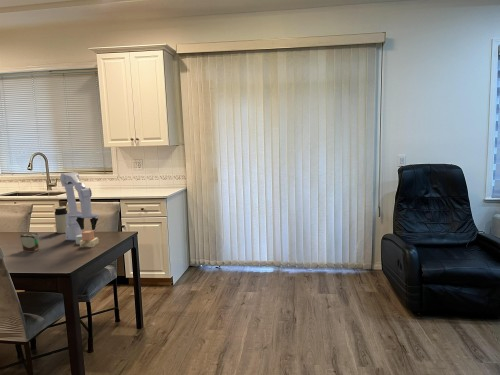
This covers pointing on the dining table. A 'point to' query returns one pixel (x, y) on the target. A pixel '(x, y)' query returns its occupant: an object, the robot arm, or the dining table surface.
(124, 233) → the dining table surface
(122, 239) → the dining table surface
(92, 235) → the terracotta cube
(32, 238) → the food container
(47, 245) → the dining table surface
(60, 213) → the travel mug
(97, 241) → the maple block
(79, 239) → the off-white cube
